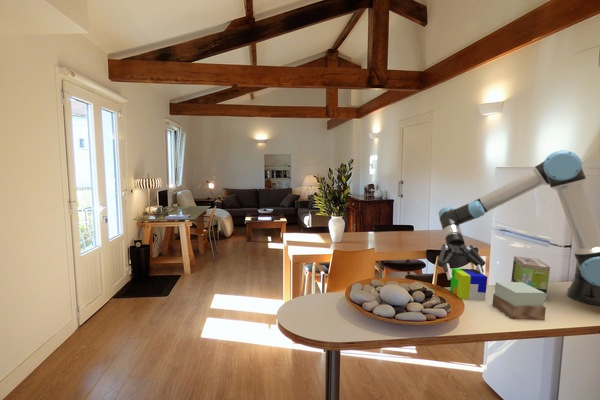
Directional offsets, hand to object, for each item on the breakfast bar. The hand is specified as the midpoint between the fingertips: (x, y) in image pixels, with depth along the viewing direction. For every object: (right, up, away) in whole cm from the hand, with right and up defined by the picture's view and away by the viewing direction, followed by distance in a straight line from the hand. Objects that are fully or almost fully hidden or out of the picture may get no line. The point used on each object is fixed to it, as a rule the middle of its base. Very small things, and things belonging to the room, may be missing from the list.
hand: (466, 279), depth 144 cm
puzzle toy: (0, -7, 0) cm, 7 cm away
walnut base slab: (+11, -9, -16) cm, 22 cm away
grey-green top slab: (+12, -4, -16) cm, 20 cm away
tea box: (+29, -8, +5) cm, 31 cm away
